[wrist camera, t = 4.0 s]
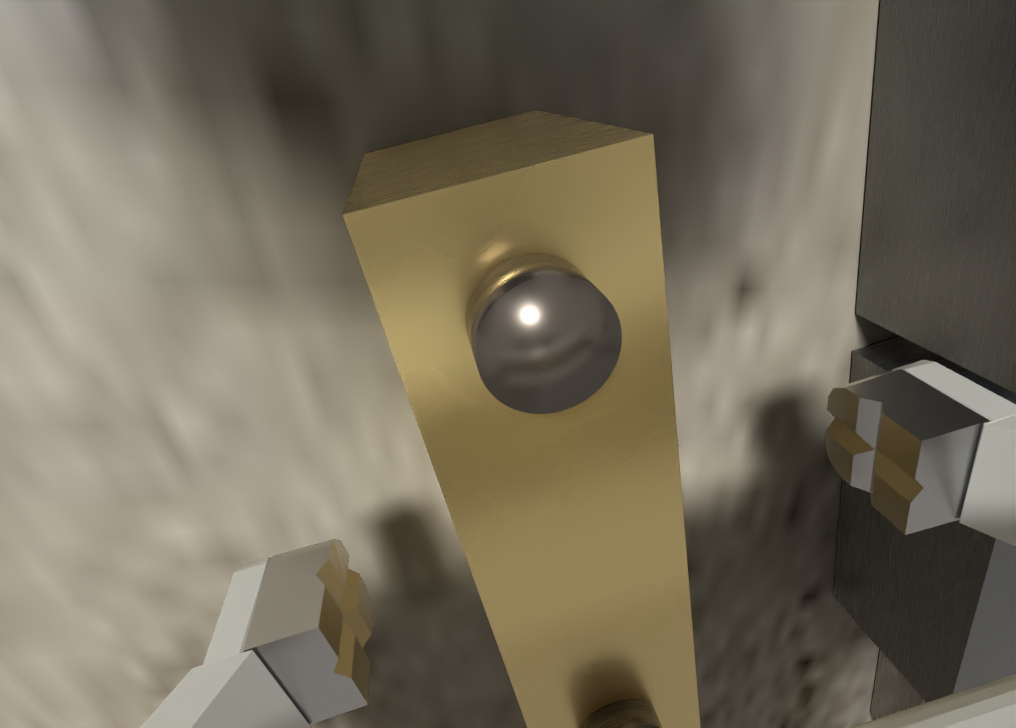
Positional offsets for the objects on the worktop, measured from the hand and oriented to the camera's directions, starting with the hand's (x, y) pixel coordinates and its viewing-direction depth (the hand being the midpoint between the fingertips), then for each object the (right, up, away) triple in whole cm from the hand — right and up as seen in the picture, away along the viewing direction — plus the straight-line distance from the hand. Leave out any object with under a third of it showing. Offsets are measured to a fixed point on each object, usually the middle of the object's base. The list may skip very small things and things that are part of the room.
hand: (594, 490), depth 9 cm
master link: (-1, +1, +3) cm, 4 cm away
